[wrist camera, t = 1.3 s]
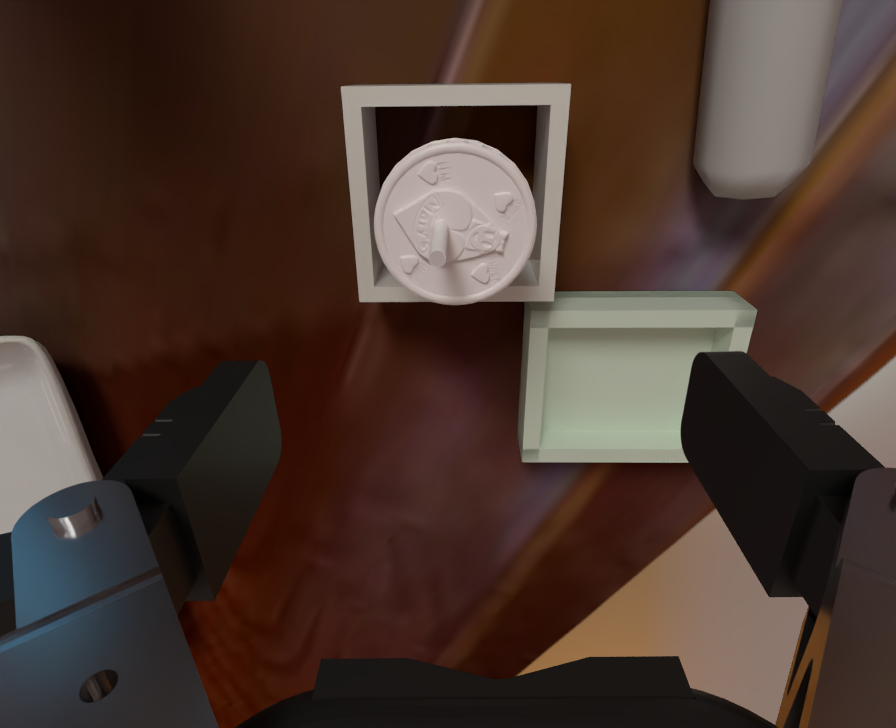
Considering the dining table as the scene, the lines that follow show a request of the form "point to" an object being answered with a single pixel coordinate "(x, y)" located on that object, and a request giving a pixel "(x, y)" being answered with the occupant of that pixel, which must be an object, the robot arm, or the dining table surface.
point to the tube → (762, 93)
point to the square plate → (37, 431)
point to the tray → (618, 370)
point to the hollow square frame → (549, 97)
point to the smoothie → (455, 221)
